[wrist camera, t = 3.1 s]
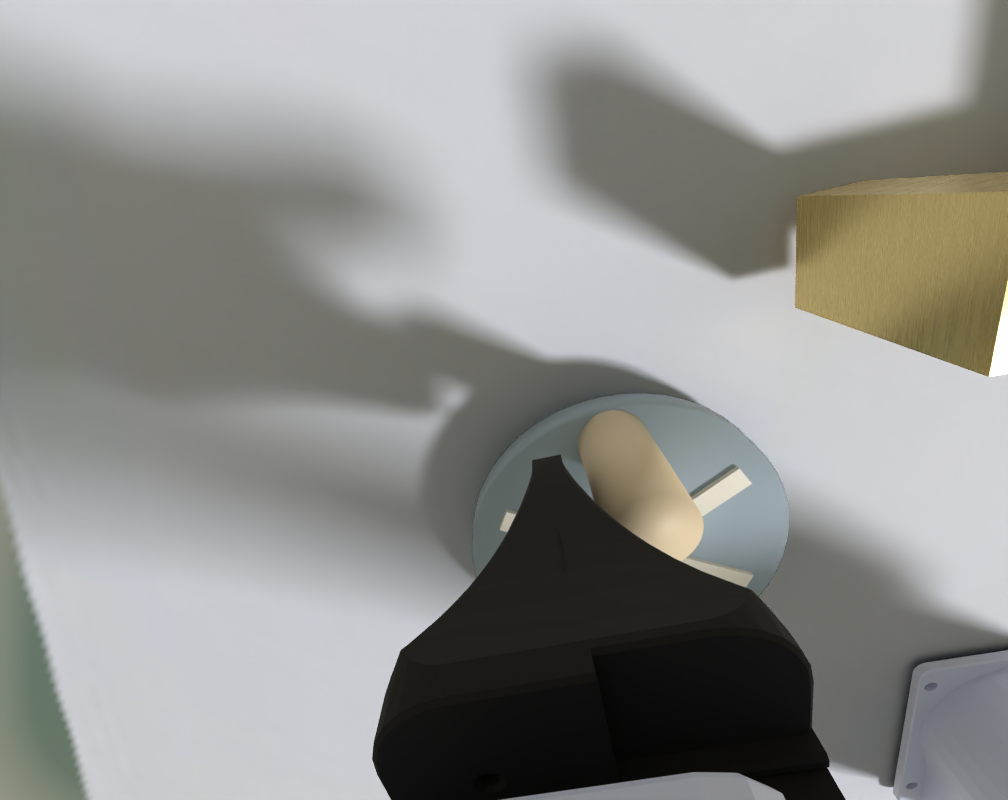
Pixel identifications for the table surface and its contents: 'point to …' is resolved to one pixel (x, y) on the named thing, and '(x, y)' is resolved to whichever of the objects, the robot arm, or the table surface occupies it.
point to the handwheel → (653, 483)
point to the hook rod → (912, 263)
